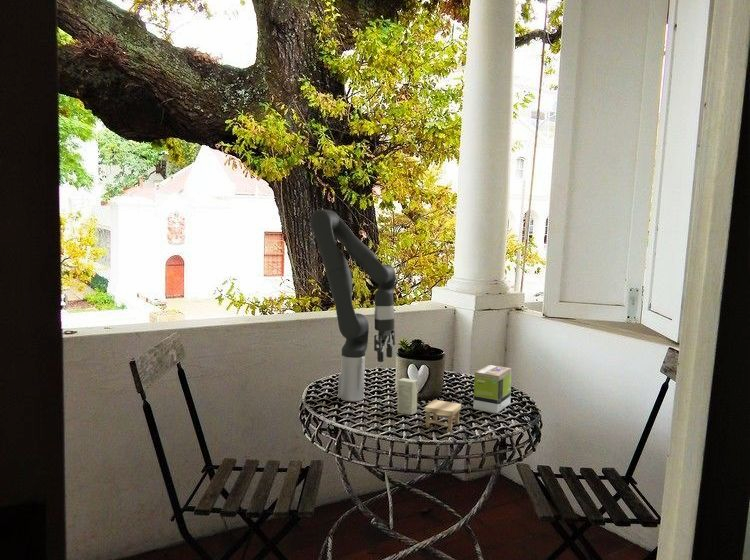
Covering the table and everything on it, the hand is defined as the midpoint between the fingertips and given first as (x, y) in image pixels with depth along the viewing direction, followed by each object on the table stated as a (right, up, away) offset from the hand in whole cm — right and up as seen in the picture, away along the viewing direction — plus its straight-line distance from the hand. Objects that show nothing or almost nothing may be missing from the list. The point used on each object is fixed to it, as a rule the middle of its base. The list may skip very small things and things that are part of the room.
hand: (385, 359), depth 244 cm
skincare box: (+8, -19, -8) cm, 22 cm away
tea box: (+41, -19, +4) cm, 46 cm away
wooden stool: (+20, -20, -20) cm, 35 cm away
